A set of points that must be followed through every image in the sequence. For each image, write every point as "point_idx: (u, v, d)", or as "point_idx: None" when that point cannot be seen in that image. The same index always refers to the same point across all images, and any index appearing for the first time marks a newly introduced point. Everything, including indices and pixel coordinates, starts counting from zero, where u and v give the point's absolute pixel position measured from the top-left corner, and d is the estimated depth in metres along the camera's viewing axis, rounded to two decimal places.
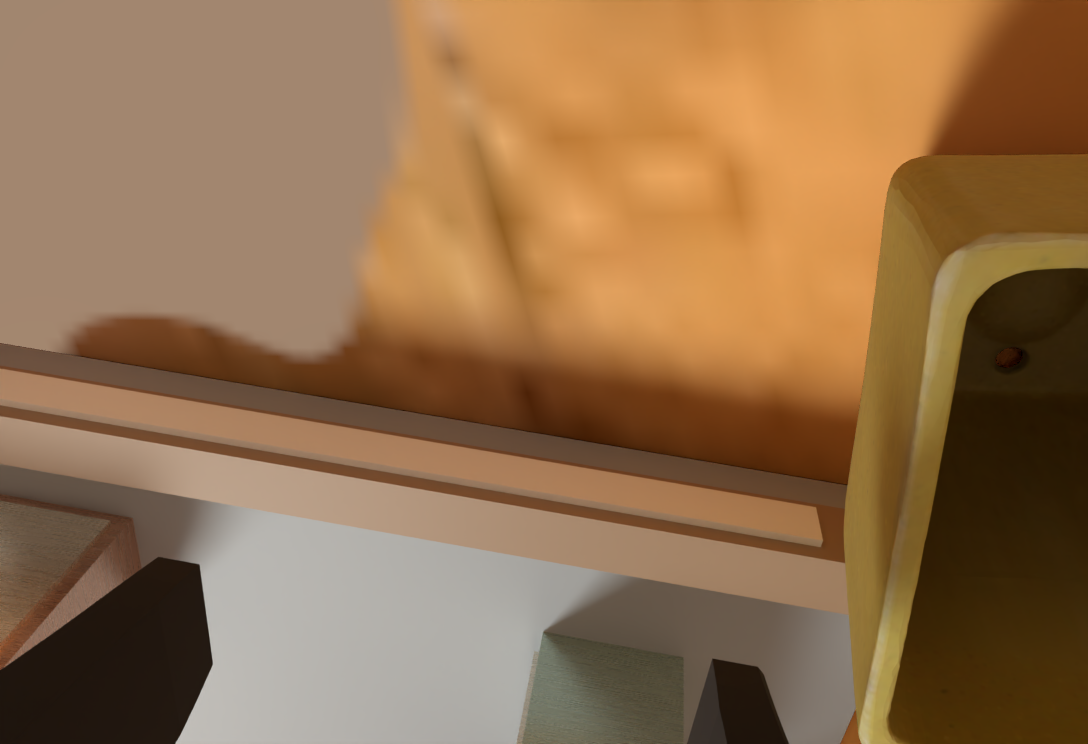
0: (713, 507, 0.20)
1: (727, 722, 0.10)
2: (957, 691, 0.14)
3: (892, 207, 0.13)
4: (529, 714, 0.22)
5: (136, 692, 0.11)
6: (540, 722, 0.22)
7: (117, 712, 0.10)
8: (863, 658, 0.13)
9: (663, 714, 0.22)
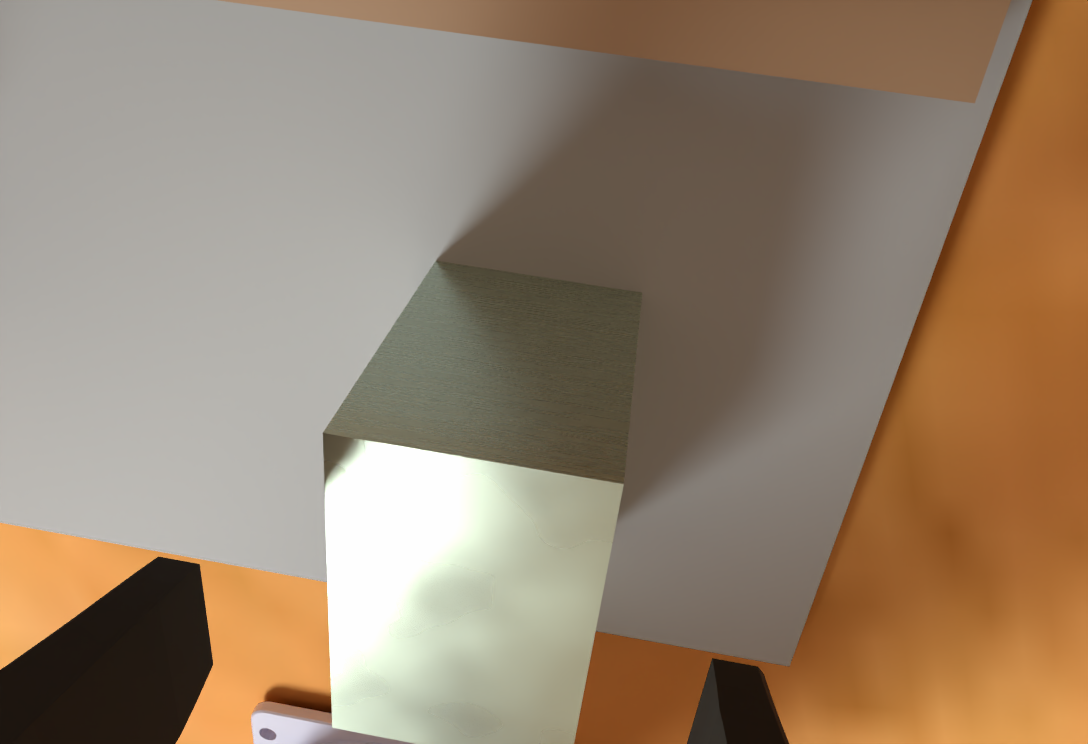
0: None
1: (727, 722, 0.10)
2: None
3: None
4: (396, 325, 0.14)
5: (136, 692, 0.11)
6: (411, 333, 0.14)
7: (117, 712, 0.10)
8: None
9: (607, 337, 0.14)
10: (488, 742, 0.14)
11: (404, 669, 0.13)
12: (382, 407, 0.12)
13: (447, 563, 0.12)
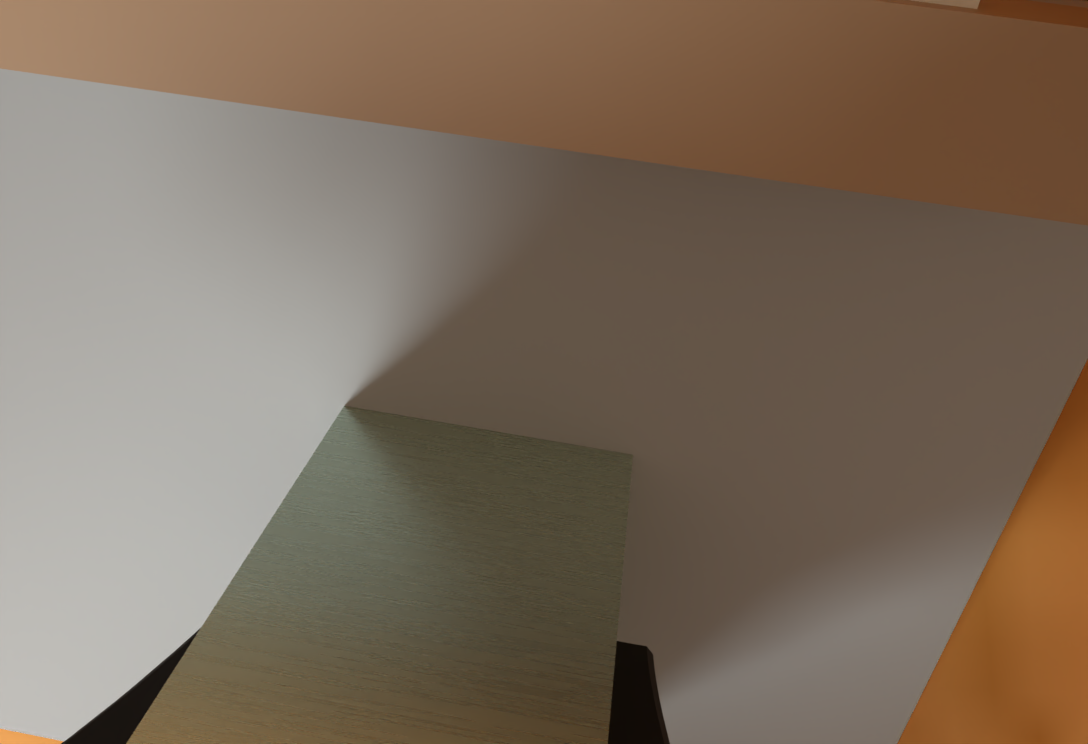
0: None
1: None
2: None
3: None
4: (261, 541, 0.09)
5: None
6: (282, 557, 0.09)
7: None
8: None
9: (579, 550, 0.10)
10: None
11: None
12: (199, 739, 0.07)
13: None
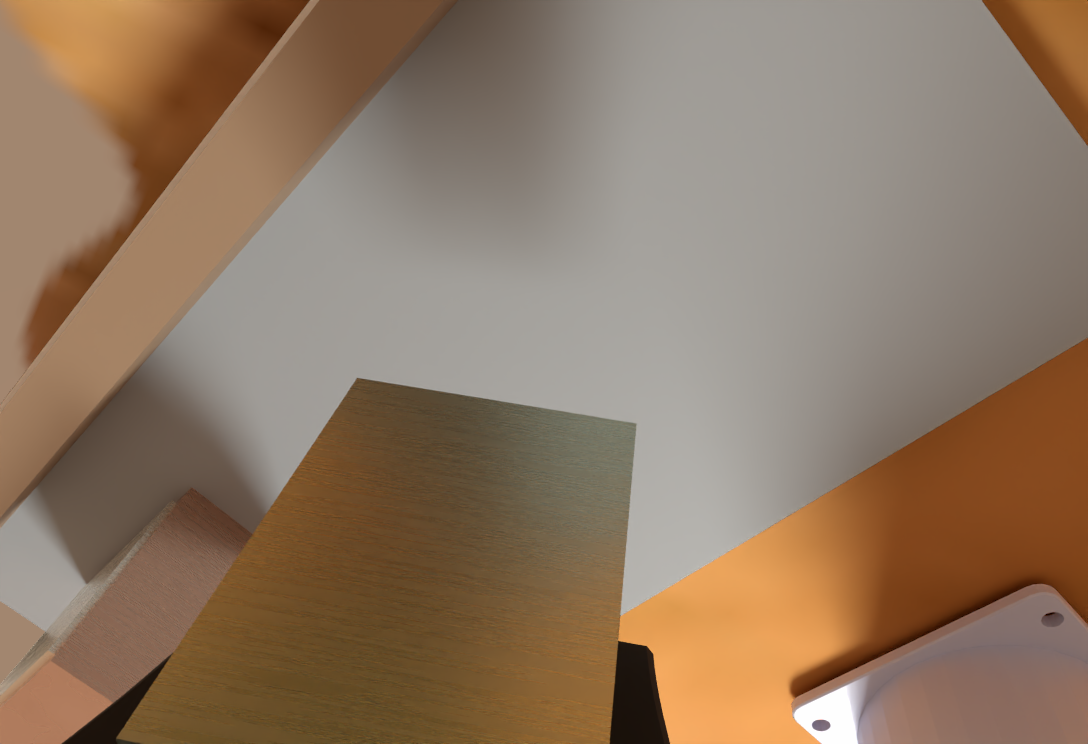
0: None
1: None
2: None
3: None
4: (280, 498, 0.10)
5: None
6: (301, 513, 0.10)
7: None
8: None
9: (586, 508, 0.10)
10: None
11: None
12: (227, 672, 0.08)
13: None
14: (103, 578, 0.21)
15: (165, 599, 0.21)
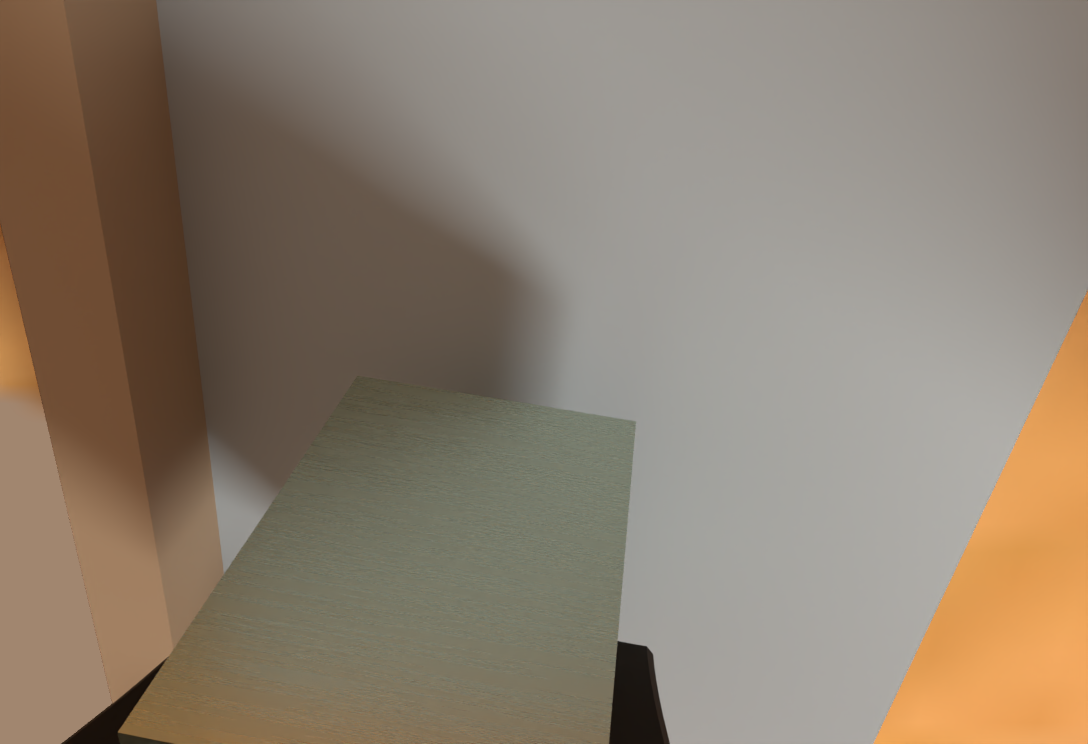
0: None
1: None
2: None
3: None
4: (281, 495, 0.10)
5: None
6: (301, 509, 0.10)
7: None
8: None
9: (585, 505, 0.10)
10: None
11: None
12: (228, 667, 0.08)
13: None
14: None
15: None
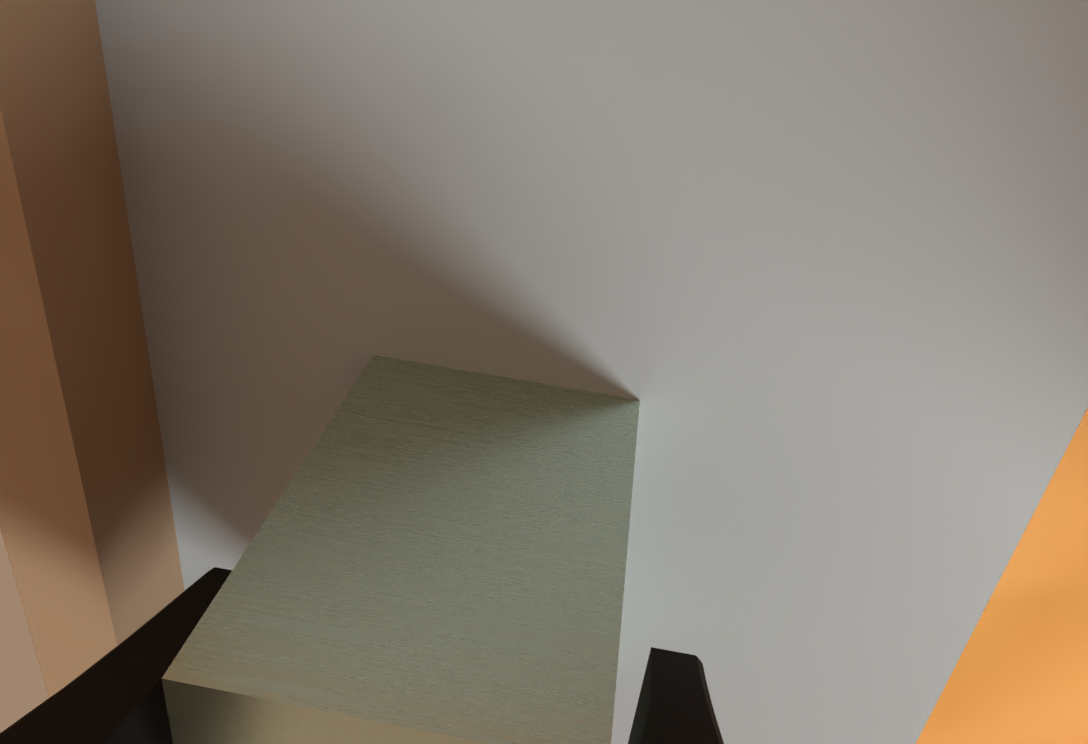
0: None
1: (658, 709, 0.10)
2: None
3: None
4: (304, 466, 0.10)
5: None
6: (324, 479, 0.10)
7: None
8: None
9: (591, 477, 0.11)
10: None
11: None
12: (260, 621, 0.08)
13: None
14: None
15: None
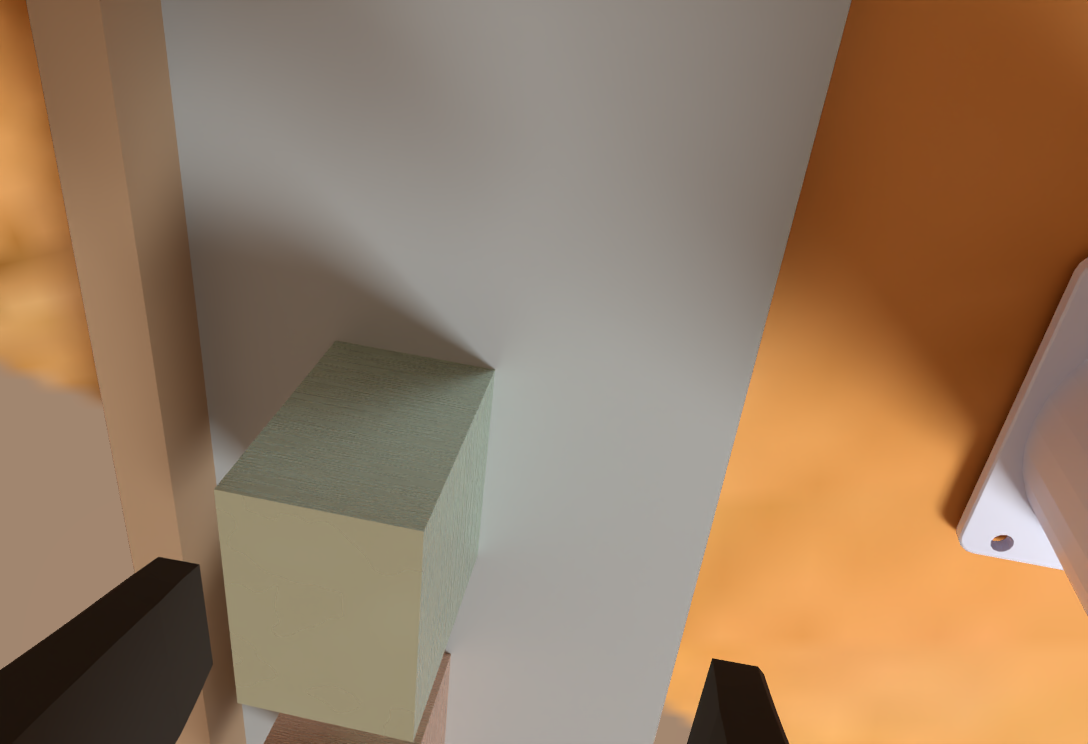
0: None
1: (727, 722, 0.10)
2: None
3: None
4: (289, 400, 0.19)
5: (136, 692, 0.11)
6: (299, 406, 0.18)
7: (118, 712, 0.10)
8: None
9: (452, 410, 0.19)
10: (352, 716, 0.18)
11: (285, 660, 0.18)
12: (262, 469, 0.16)
13: (309, 583, 0.17)
14: None
15: (319, 724, 0.23)
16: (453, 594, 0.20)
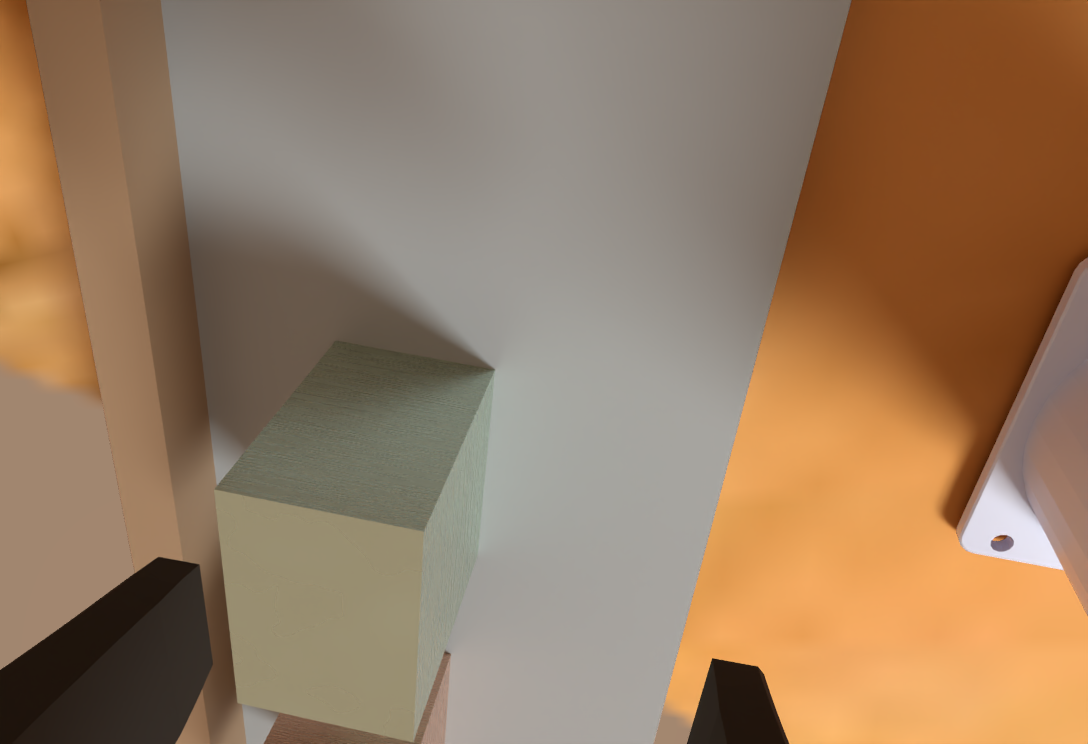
0: None
1: (727, 722, 0.10)
2: None
3: None
4: (289, 400, 0.19)
5: (136, 692, 0.11)
6: (299, 406, 0.18)
7: (118, 712, 0.10)
8: None
9: (452, 410, 0.19)
10: (352, 717, 0.18)
11: (285, 660, 0.18)
12: (262, 469, 0.16)
13: (309, 583, 0.17)
14: None
15: (319, 724, 0.23)
16: (453, 594, 0.20)
